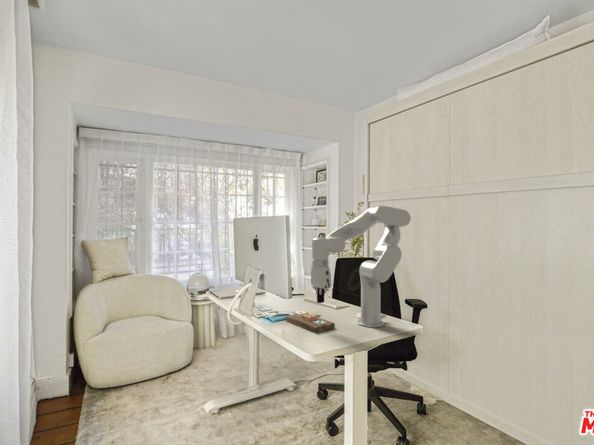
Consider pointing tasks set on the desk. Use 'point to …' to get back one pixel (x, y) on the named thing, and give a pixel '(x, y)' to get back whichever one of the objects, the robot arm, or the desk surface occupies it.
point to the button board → (310, 324)
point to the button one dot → (299, 314)
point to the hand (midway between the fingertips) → (320, 302)
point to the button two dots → (309, 317)
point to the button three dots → (319, 322)
